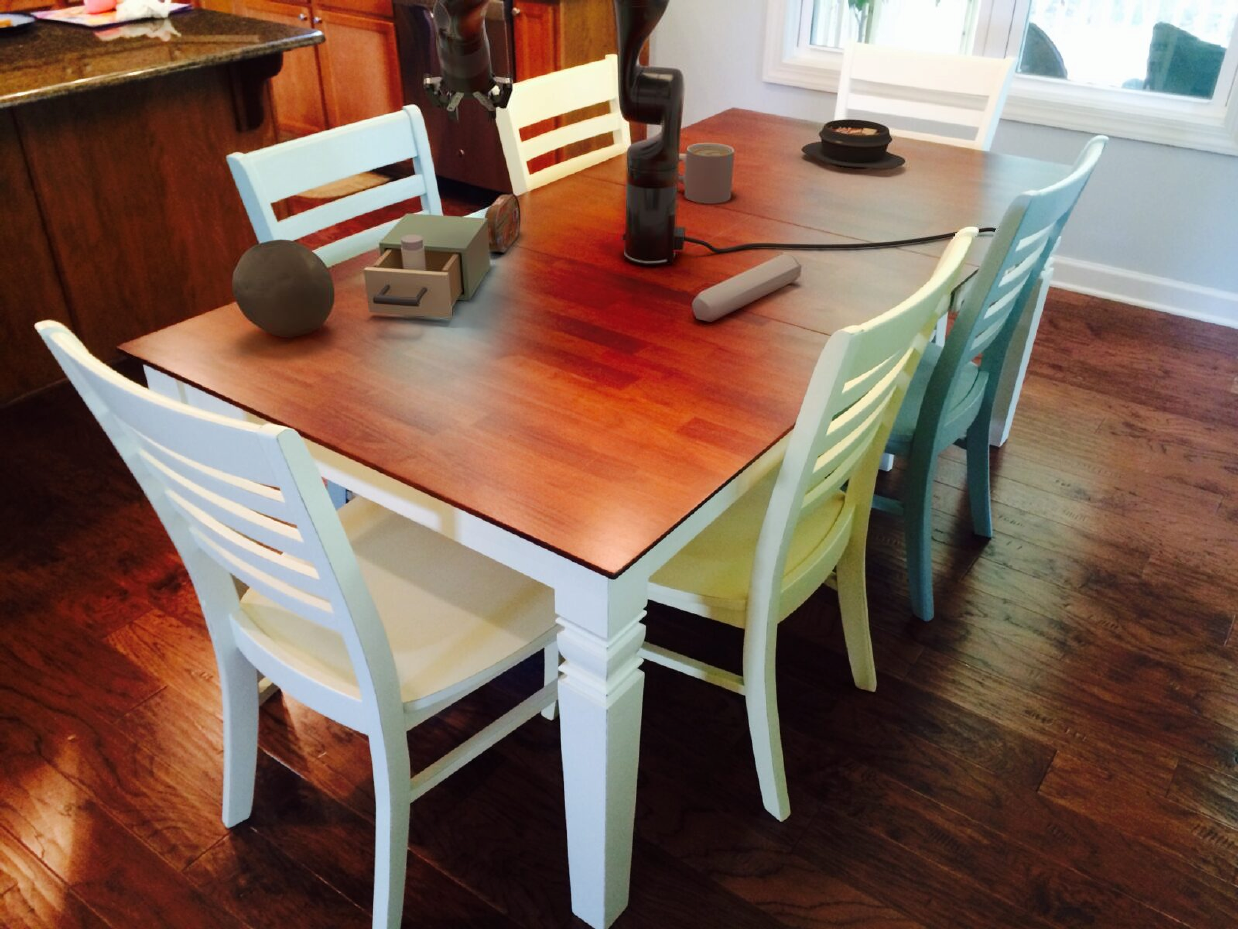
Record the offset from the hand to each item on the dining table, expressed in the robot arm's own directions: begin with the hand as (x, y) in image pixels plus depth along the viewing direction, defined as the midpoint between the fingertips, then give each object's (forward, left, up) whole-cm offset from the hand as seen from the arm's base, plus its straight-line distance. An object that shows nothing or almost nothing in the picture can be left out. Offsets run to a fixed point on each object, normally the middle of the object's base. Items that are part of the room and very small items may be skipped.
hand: (473, 116), depth 161 cm
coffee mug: (-35, -50, -27) cm, 67 cm away
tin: (0, -14, -27) cm, 31 cm away
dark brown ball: (+23, +30, -27) cm, 46 cm away
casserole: (-69, -80, -27) cm, 109 cm away
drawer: (+7, +17, -26) cm, 32 cm away
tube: (-46, +5, -27) cm, 54 cm away
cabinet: (+7, +5, -27) cm, 28 cm away
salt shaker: (+7, +17, -25) cm, 31 cm away
